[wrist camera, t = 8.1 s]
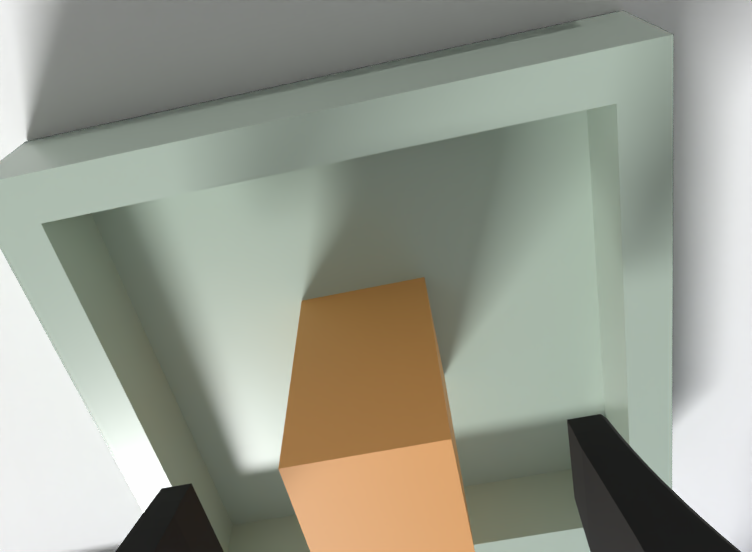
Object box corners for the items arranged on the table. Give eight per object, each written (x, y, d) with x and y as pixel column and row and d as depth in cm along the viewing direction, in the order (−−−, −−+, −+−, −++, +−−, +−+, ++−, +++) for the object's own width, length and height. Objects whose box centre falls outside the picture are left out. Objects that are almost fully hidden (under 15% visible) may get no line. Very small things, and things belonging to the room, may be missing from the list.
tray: (622, 10, 14) (673, 34, 12) (637, 466, 20) (671, 539, 18) (25, 141, 15) (-33, 186, 13) (214, 536, 21) (197, 613, 19)
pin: (424, 276, 16) (451, 438, 12) (444, 375, 18) (475, 555, 13) (301, 300, 17) (278, 469, 12) (331, 396, 18) (320, 580, 13)
